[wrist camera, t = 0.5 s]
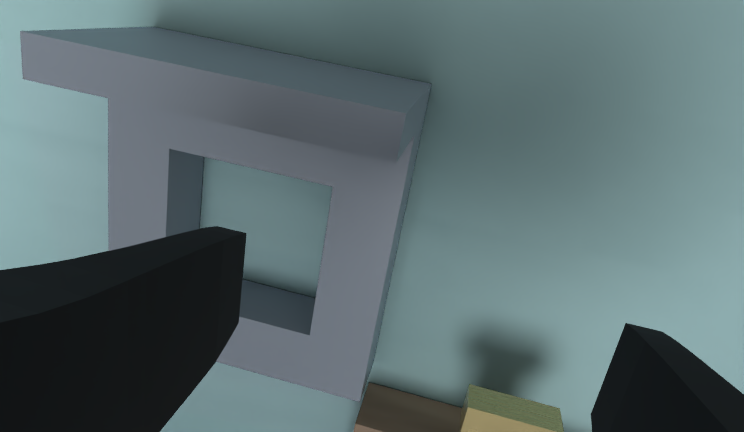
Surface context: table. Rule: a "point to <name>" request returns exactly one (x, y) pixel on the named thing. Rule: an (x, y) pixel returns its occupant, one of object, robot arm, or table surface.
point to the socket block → (404, 413)
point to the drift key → (506, 413)
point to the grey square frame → (259, 151)
